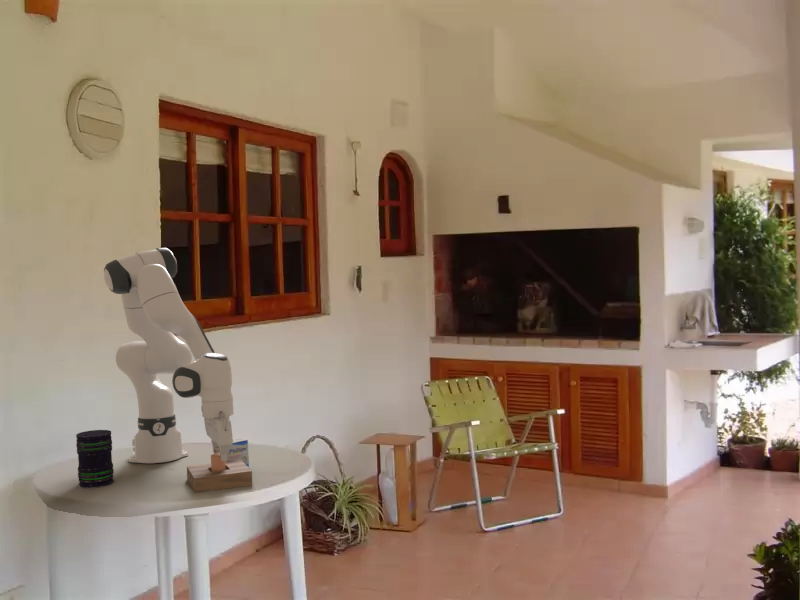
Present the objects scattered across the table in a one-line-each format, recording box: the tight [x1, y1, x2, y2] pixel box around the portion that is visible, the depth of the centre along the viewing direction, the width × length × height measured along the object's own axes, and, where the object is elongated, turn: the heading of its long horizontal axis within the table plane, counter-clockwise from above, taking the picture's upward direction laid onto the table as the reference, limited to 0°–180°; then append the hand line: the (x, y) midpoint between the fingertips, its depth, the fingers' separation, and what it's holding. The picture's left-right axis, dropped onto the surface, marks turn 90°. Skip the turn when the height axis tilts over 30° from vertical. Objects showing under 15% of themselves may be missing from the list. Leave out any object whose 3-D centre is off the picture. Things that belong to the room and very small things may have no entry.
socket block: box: [186, 460, 253, 493], centre depth 243 cm, size 16×16×4 cm
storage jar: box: [75, 429, 115, 489], centre depth 247 cm, size 10×10×15 cm
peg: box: [210, 453, 226, 472], centre depth 243 cm, size 4×4×8 cm
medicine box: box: [219, 438, 250, 468], centre depth 259 cm, size 8×4×9 cm, turn 137°
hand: (220, 456), depth 243 cm, fingers open, 8 cm apart
